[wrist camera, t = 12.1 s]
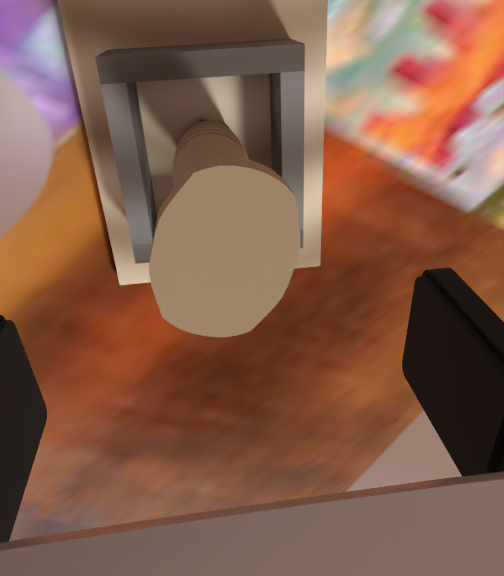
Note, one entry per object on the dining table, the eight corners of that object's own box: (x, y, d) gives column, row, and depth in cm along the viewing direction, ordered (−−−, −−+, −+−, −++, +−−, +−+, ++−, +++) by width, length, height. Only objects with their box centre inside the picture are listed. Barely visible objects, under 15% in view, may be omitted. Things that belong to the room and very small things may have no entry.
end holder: (56, -27, 25) (27, -33, 20) (324, -40, 26) (350, -49, 21) (121, 278, 34) (111, 317, 30) (316, 259, 35) (334, 295, 31)
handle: (260, 99, 28) (323, 185, 15) (233, 201, 31) (266, 345, 18) (177, 76, 27) (171, 149, 14) (157, 185, 30) (137, 326, 17)
